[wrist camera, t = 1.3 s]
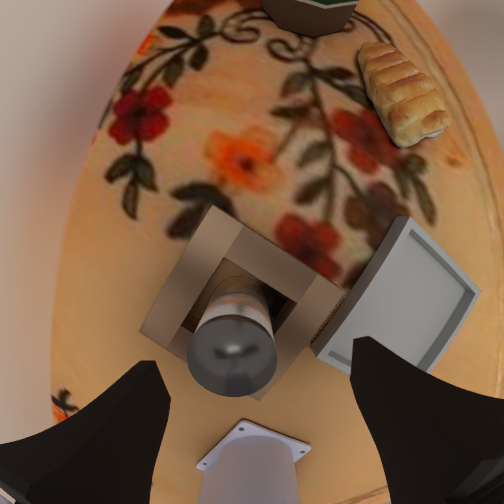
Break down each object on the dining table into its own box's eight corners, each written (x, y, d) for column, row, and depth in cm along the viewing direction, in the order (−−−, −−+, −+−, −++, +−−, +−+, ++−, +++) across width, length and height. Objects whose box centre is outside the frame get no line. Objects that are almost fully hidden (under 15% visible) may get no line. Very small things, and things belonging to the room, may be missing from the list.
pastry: (333, 59, 18) (346, 35, 14) (389, 44, 17) (406, 24, 14) (394, 156, 19) (420, 147, 15) (443, 131, 18) (469, 121, 15)
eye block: (258, 382, 21) (259, 400, 18) (150, 319, 20) (138, 331, 18) (334, 283, 20) (344, 291, 17) (217, 206, 19) (212, 205, 17)
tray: (396, 391, 21) (405, 402, 19) (310, 345, 20) (315, 357, 18) (468, 286, 20) (481, 291, 18) (396, 216, 19) (410, 216, 17)
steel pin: (247, 338, 20) (245, 408, 12) (201, 310, 20) (172, 369, 12) (277, 295, 20) (295, 350, 12) (230, 265, 20) (215, 303, 11)
